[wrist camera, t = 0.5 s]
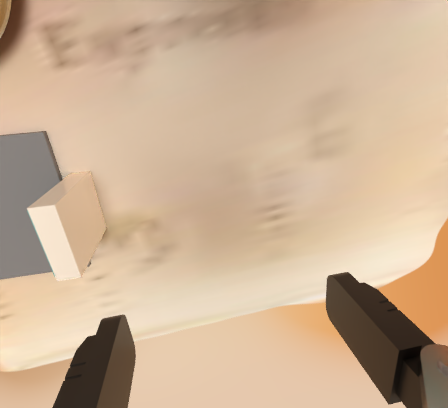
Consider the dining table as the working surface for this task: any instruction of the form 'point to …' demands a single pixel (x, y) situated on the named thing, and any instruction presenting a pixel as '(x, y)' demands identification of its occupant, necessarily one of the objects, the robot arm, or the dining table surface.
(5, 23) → the plant saucer
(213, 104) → the dining table surface
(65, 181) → the tile
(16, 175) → the mat
